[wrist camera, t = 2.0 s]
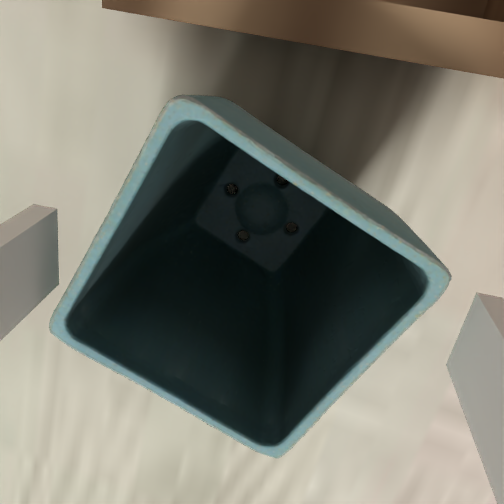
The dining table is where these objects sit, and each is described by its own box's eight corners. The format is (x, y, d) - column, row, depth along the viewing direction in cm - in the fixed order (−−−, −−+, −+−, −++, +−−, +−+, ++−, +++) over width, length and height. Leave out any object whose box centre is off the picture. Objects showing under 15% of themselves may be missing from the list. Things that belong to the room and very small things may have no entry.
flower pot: (230, 60, 19) (172, 85, 11) (403, 179, 21) (463, 279, 13) (135, 226, 23) (40, 334, 15) (288, 318, 24) (276, 465, 16)
